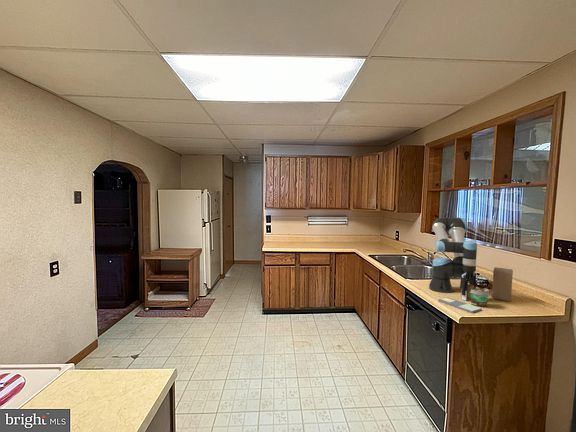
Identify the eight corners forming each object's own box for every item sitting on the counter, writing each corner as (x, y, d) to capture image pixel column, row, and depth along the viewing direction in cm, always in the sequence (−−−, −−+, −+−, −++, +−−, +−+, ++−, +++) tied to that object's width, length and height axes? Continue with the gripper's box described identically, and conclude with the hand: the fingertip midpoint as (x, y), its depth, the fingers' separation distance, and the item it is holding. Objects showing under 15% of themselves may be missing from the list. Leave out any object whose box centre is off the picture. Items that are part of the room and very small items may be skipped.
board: (438, 301, 181) (438, 299, 181) (447, 299, 185) (447, 297, 185) (471, 313, 162) (471, 310, 162) (481, 310, 166) (481, 308, 166)
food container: (478, 308, 169) (479, 292, 168) (469, 305, 175) (470, 289, 174) (493, 307, 172) (494, 291, 172) (484, 303, 178) (485, 288, 178)
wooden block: (492, 295, 195) (494, 266, 193) (511, 298, 188) (512, 269, 187) (491, 298, 187) (493, 269, 186) (510, 302, 180) (512, 272, 179)
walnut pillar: (461, 298, 186) (462, 284, 186) (465, 297, 188) (466, 283, 188) (469, 301, 182) (469, 286, 181) (473, 300, 184) (474, 285, 183)
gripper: (466, 267, 176) (464, 303, 177) (483, 264, 185) (482, 298, 186) (454, 265, 183) (452, 299, 184) (472, 262, 192) (470, 295, 193)
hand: (467, 299), depth 185 cm, fingers open, 7 cm apart
